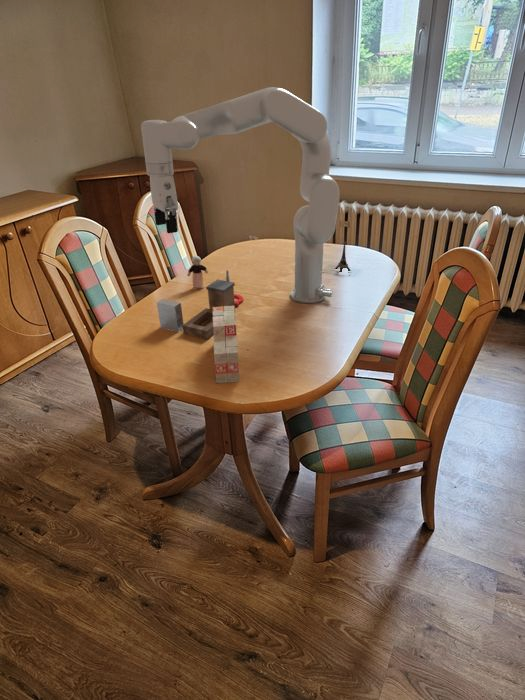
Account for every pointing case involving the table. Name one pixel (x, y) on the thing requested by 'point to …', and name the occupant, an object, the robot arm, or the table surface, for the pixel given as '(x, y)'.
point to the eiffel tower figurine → (343, 261)
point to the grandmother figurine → (197, 273)
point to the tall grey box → (170, 315)
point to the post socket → (211, 309)
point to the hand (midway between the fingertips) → (166, 228)
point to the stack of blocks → (225, 345)
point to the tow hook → (234, 294)
